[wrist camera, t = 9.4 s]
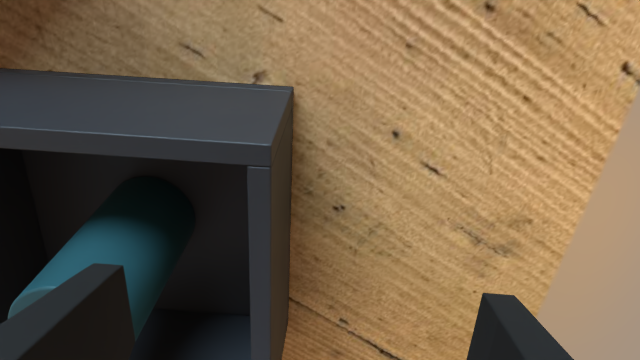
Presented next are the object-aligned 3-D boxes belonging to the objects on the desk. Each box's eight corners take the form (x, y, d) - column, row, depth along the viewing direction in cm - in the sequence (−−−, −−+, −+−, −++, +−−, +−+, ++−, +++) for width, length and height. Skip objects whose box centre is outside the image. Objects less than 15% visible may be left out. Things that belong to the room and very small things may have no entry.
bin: (288, 320, 24) (270, 424, 19) (53, 302, 24) (-25, 398, 19) (293, 86, 19) (271, 144, 14) (-5, 67, 19) (-132, 117, 14)
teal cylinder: (198, 253, 22) (135, 385, 16) (116, 247, 22) (21, 375, 16) (192, 178, 20) (119, 292, 14) (104, 172, 20) (-8, 282, 14)
